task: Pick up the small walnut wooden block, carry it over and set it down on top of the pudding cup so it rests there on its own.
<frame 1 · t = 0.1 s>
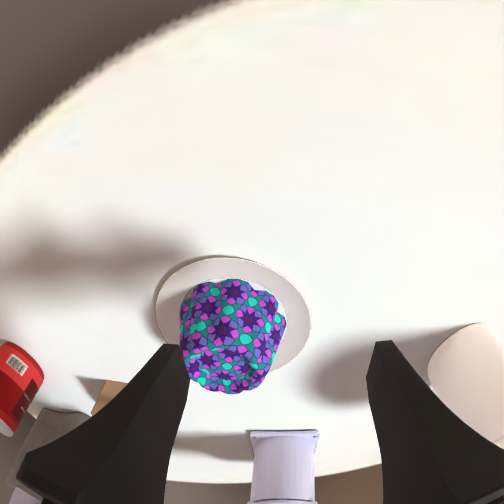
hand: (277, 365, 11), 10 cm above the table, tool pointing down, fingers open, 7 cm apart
pudding: (233, 318, 23), on the table
walnut block: (133, 395, 30), on the table
flask: (72, 419, 37), on the table
candle holder: (461, 352, 24), on the table
canned food: (24, 360, 31), on the table
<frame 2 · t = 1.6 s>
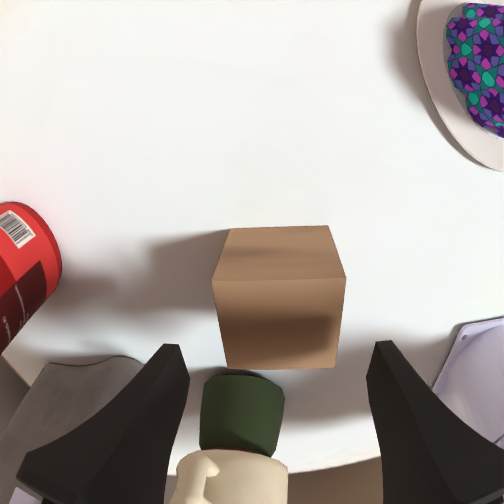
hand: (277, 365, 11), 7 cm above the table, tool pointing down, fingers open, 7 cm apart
pudding: (496, 69, 10), on the table
walnut block: (280, 268, 17), on the table
flask: (98, 378, 24), on the table
character mug: (244, 388, 22), on the table
canned food: (27, 245, 18), on the table
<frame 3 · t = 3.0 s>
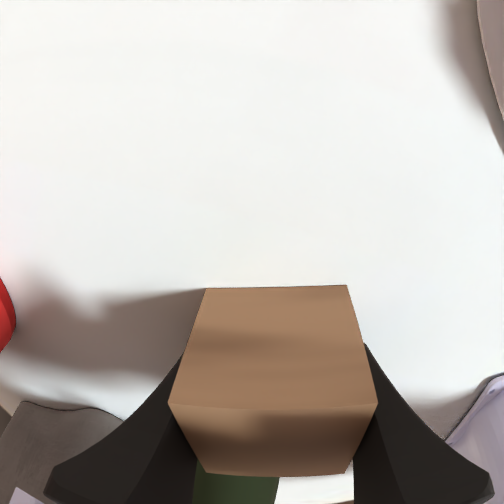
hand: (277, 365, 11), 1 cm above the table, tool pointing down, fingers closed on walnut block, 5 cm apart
walnut block: (277, 338, 12), on the table, touching gripper
flask: (75, 422, 19), on the table
character mug: (235, 447, 17), on the table
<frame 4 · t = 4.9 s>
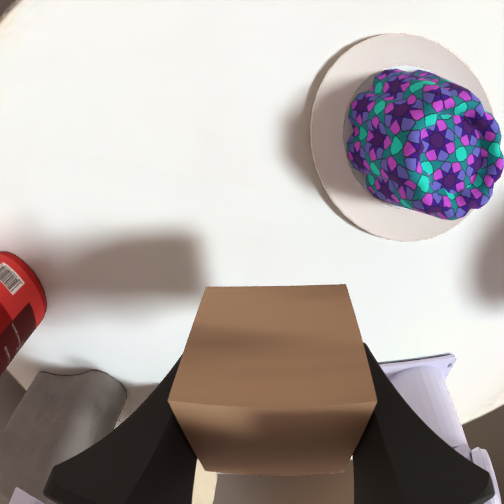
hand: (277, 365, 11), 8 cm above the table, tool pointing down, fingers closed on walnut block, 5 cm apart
pudding: (411, 138, 14), on the table
walnut block: (277, 337, 12), point 7 cm above the table, touching gripper
flask: (80, 385, 28), on the table
character mug: (192, 400, 26), on the table
canned food: (19, 284, 22), on the table
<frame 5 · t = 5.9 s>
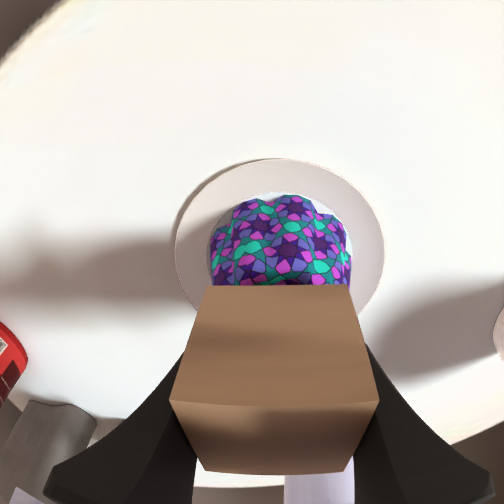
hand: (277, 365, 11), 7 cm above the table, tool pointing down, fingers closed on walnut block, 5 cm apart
pudding: (280, 259, 18), on the table
walnut block: (277, 336, 12), point 6 cm above the table, touching gripper
flask: (62, 413, 32), on the table
canned food: (6, 339, 25), on the table
when the fingers open (7 cm above the table, at t = 6.8 s): walnut block drops 1 cm, resting on pudding.
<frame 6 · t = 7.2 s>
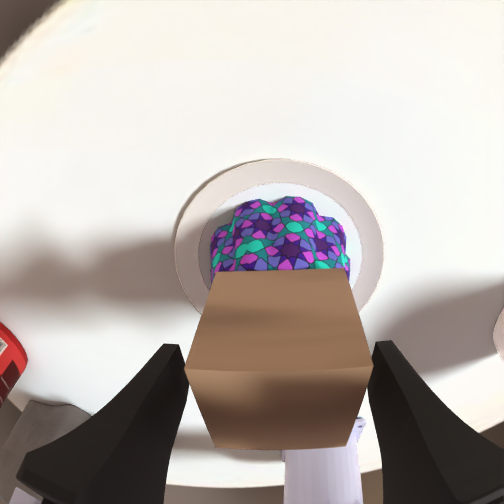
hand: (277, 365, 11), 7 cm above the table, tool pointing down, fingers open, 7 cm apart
pudding: (279, 259, 18), on the table, touching walnut block
walnut block: (281, 319, 13), point 5 cm above the table, touching pudding
flask: (62, 413, 32), on the table
canned food: (6, 340, 25), on the table
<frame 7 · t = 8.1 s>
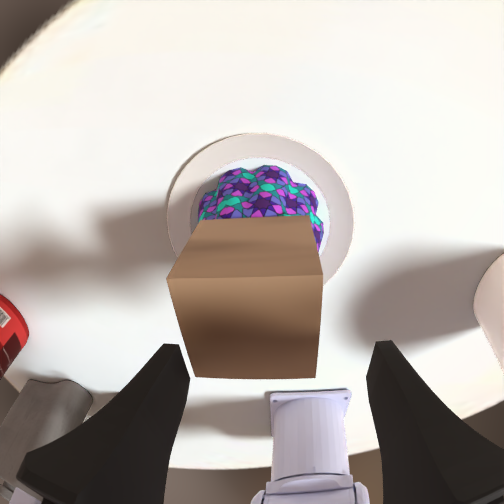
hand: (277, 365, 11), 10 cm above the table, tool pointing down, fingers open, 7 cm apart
pudding: (260, 223, 20), on the table, touching walnut block
walnut block: (257, 265, 15), point 5 cm above the table, touching pudding
flask: (60, 391, 34), on the table
canned food: (8, 315, 27), on the table
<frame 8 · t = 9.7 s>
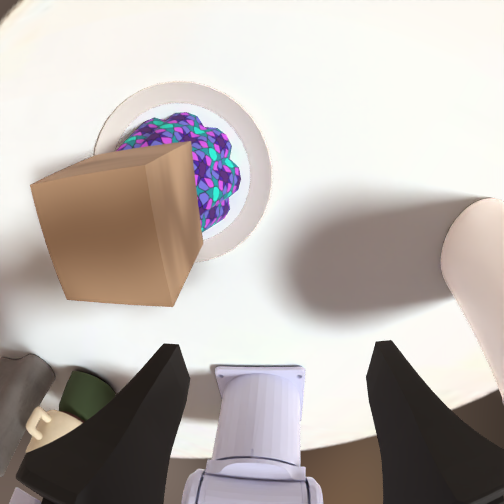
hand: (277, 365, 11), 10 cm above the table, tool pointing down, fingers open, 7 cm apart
pudding: (178, 173, 19), on the table, touching walnut block
walnut block: (147, 198, 14), point 5 cm above the table, touching pudding
flask: (27, 368, 33), on the table
character mug: (95, 382, 31), on the table
candle holder: (480, 246, 19), on the table
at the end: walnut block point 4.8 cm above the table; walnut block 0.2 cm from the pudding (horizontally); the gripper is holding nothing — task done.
